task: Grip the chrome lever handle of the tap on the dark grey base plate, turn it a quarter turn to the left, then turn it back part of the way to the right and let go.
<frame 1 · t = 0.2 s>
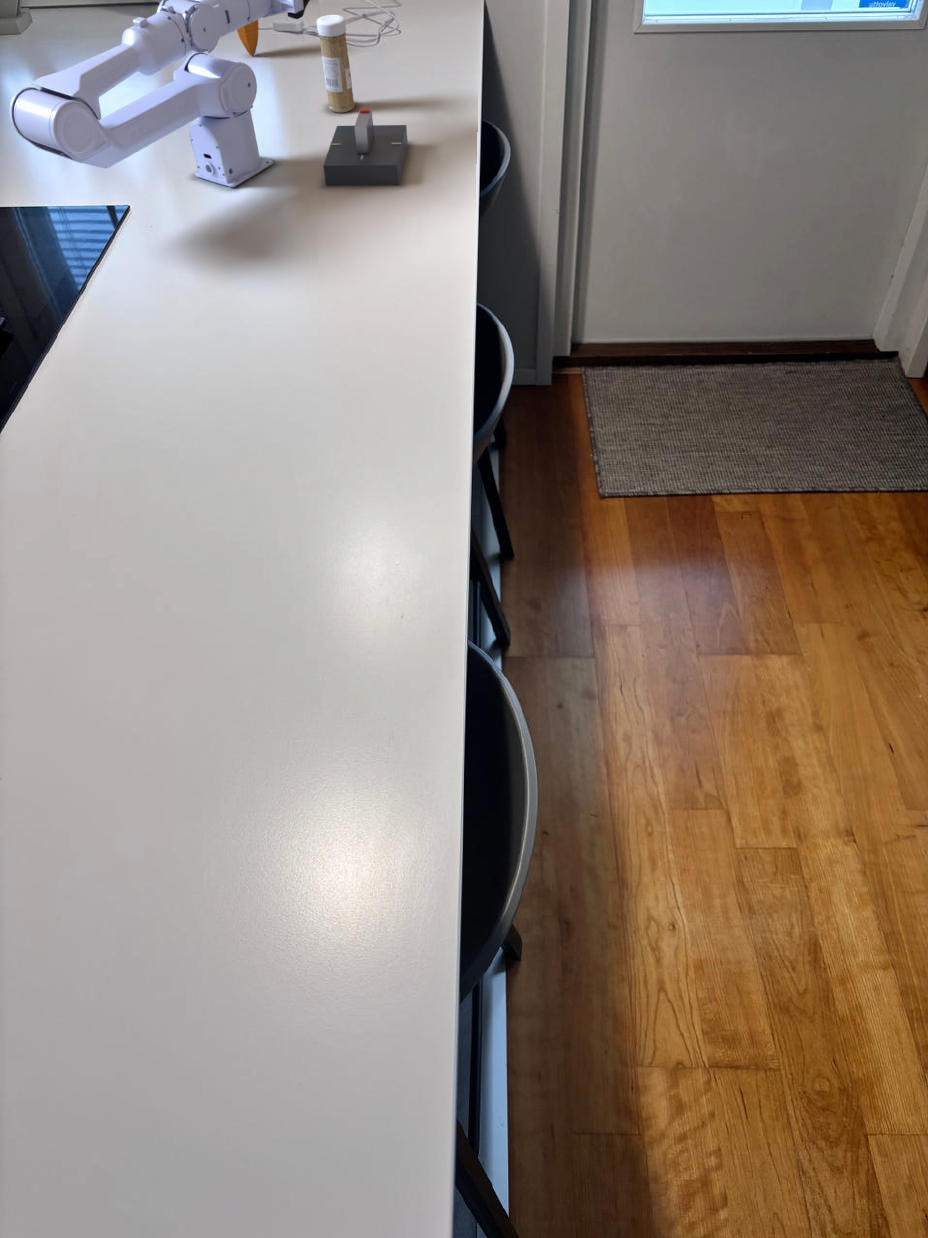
tap handle: (364, 130, 143), point 5 cm above the counter, hinge at 0.0°
sprinkles bottle: (341, 109, 161), on the counter
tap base: (368, 164, 147), on the counter
carrot: (252, 56, 178), on the counter
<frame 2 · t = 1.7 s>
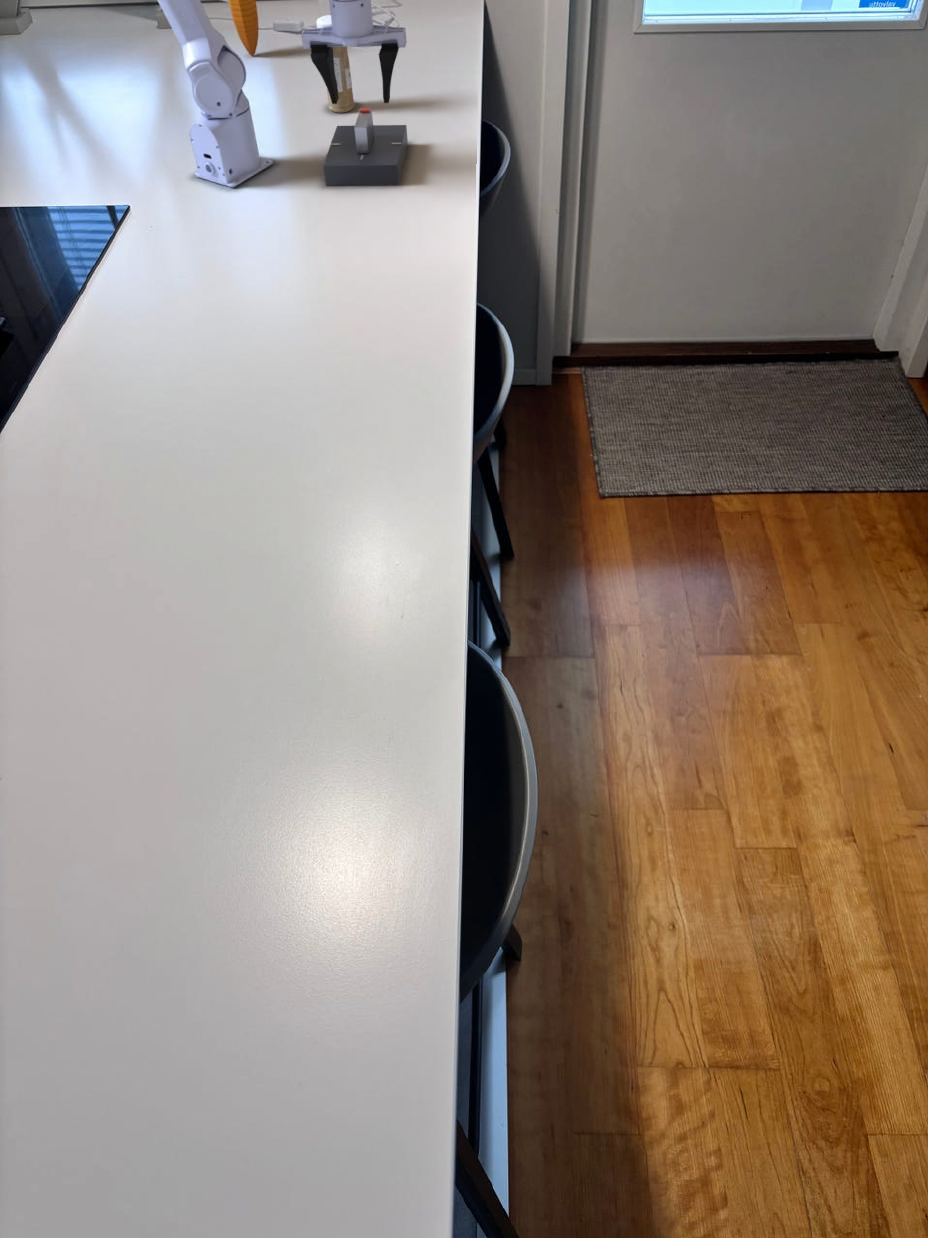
hand: (361, 100, 140), 9 cm above the counter, tool pointing down, fingers open, 7 cm apart
nothing on the counter moved.
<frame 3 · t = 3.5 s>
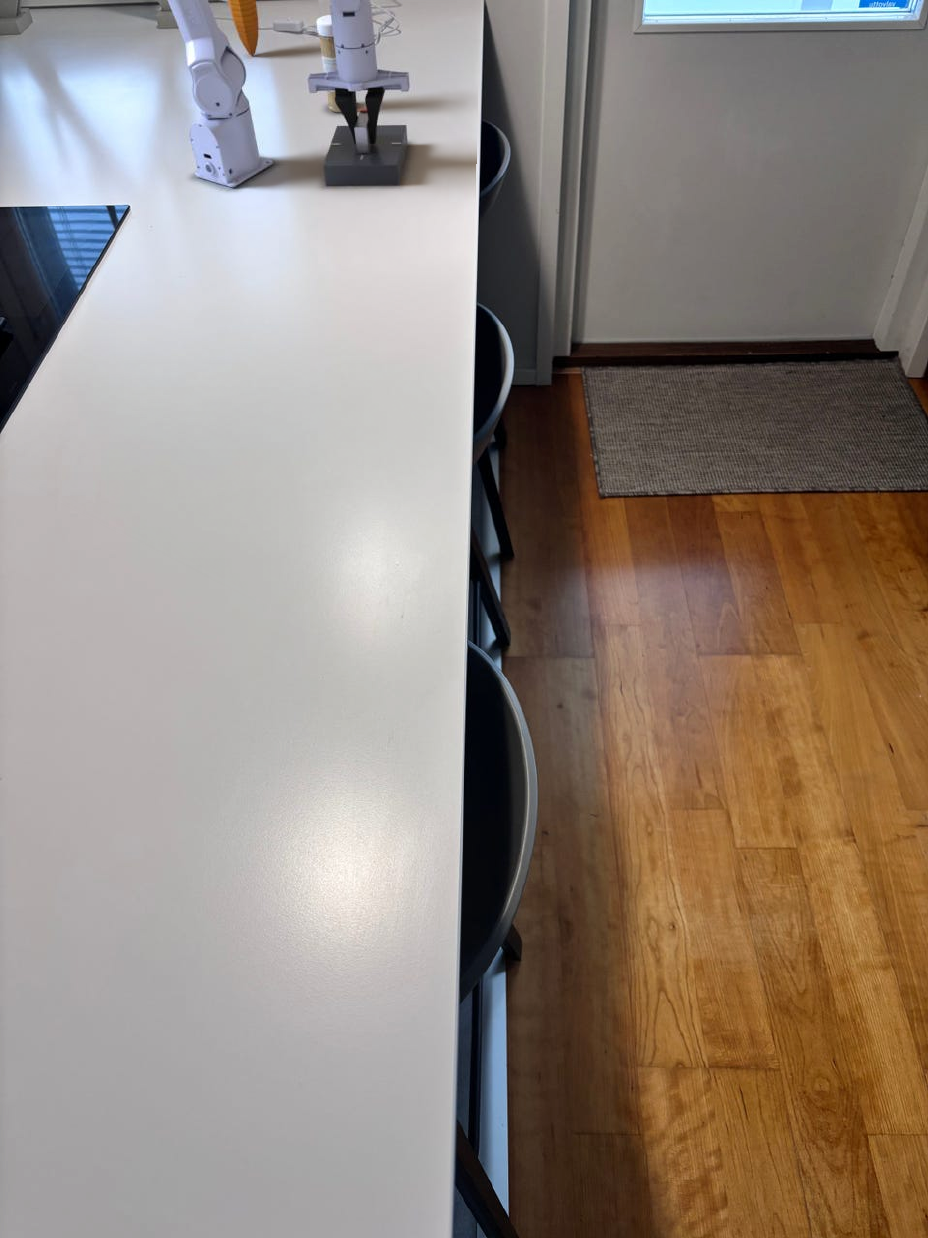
hand: (365, 140, 144), 4 cm above the counter, tool pointing down, fingers closed on tap handle, 2 cm apart
tap handle: (364, 130, 143), point 5 cm above the counter, hinge at 0.0°, touching gripper
everything else where it was.
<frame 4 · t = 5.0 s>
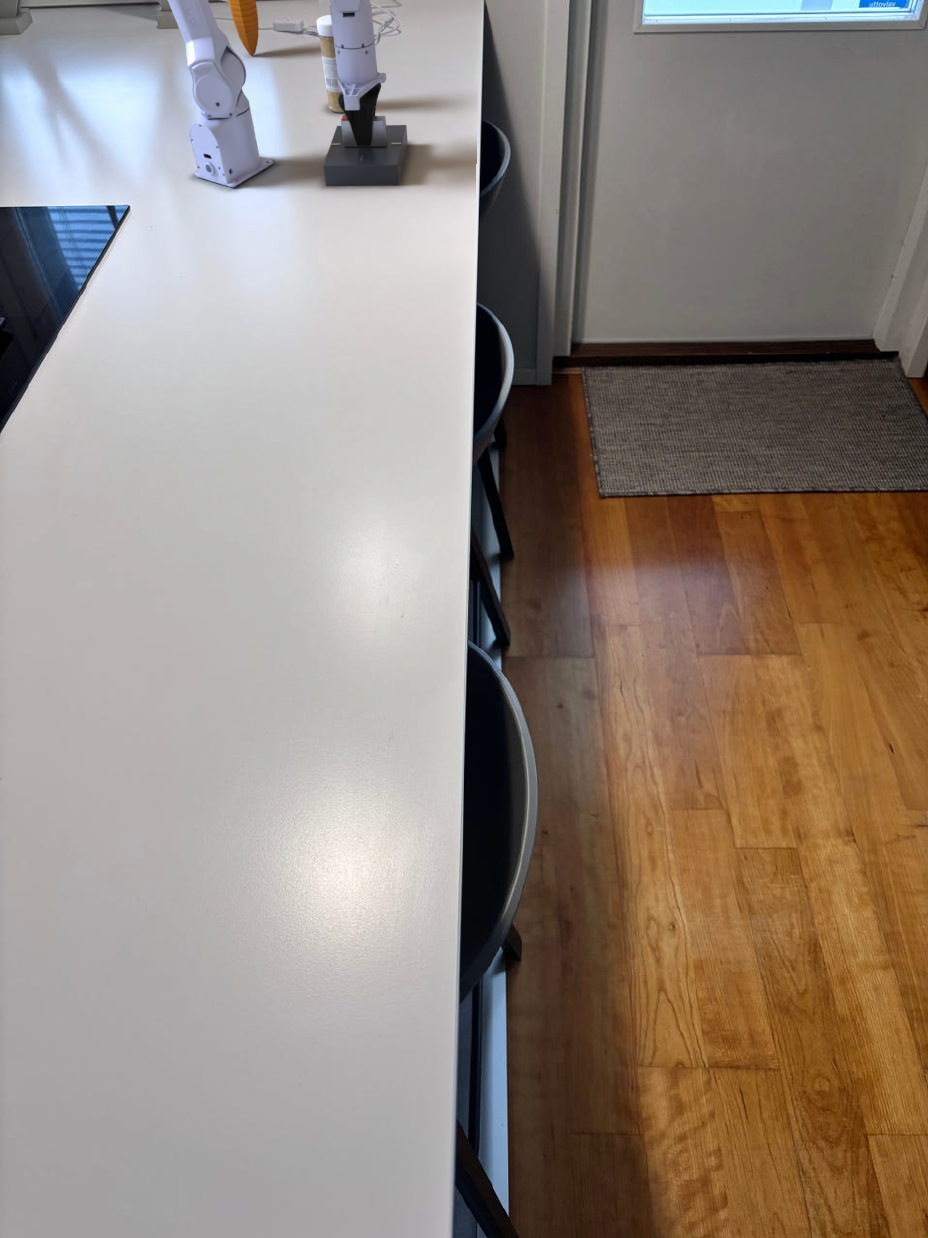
hand: (365, 141, 144), 3 cm above the counter, tool pointing down, fingers closed on tap handle, 2 cm apart
tap handle: (364, 130, 143), point 5 cm above the counter, hinge at 89.2°, touching gripper
everything else where it was.
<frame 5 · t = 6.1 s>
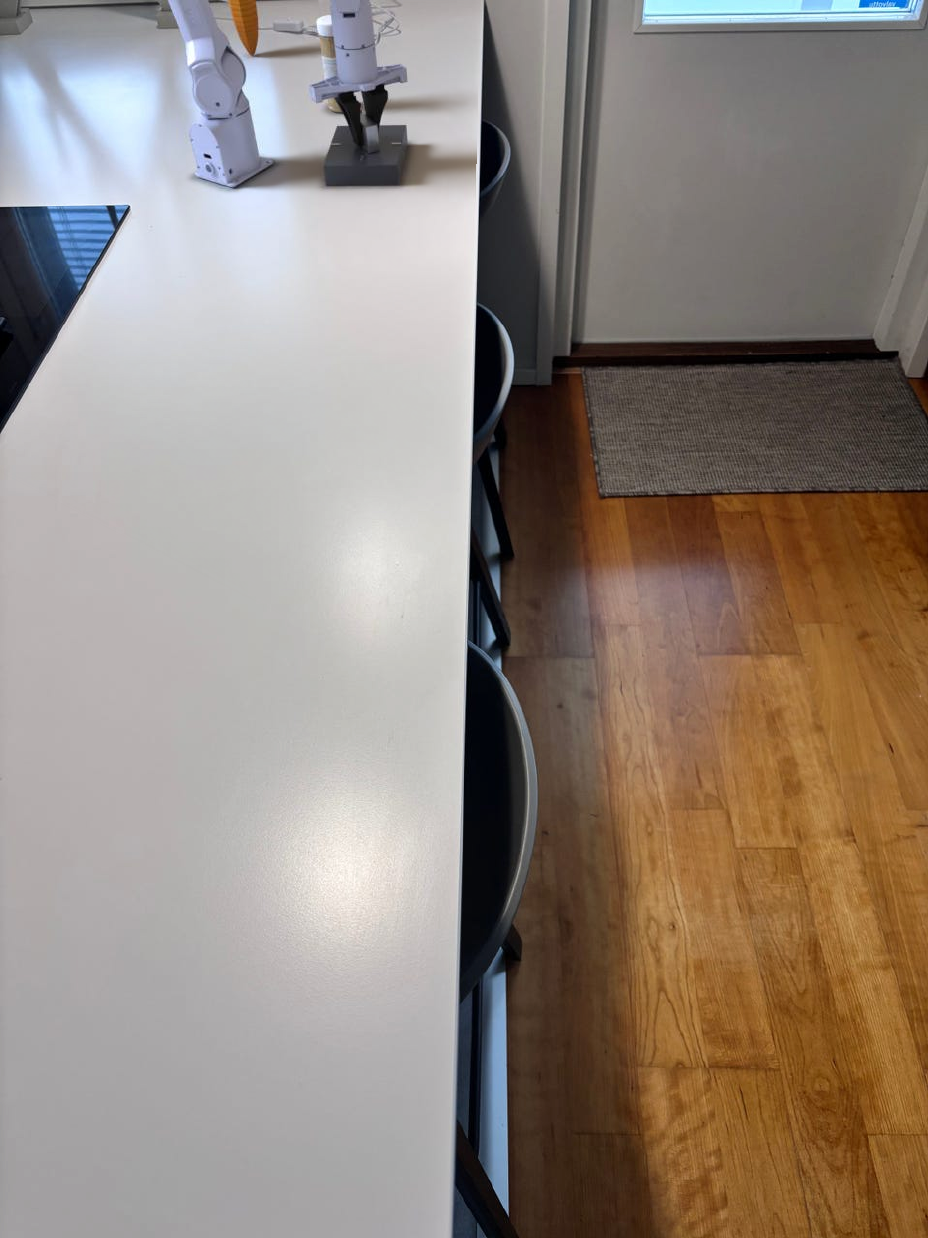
hand: (365, 141, 144), 3 cm above the counter, tool pointing down, fingers closed on tap handle, 2 cm apart
tap handle: (364, 130, 143), point 5 cm above the counter, hinge at 30.7°, touching gripper
everything else where it was.
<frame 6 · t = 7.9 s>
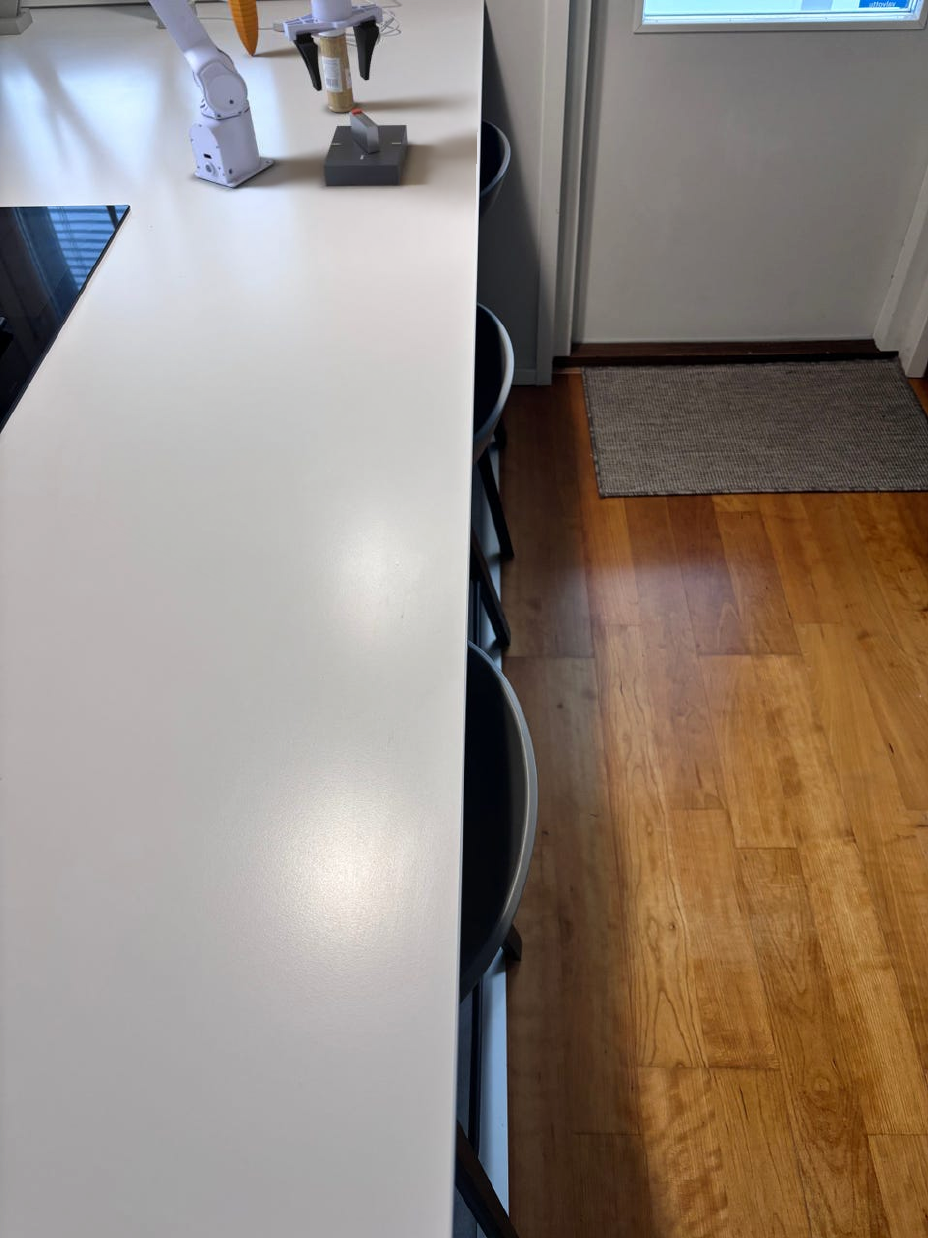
hand: (341, 83, 144), 9 cm above the counter, tool pointing down, fingers open, 7 cm apart
tap handle: (364, 130, 143), point 5 cm above the counter, hinge at 30.7°
everything else where it was.
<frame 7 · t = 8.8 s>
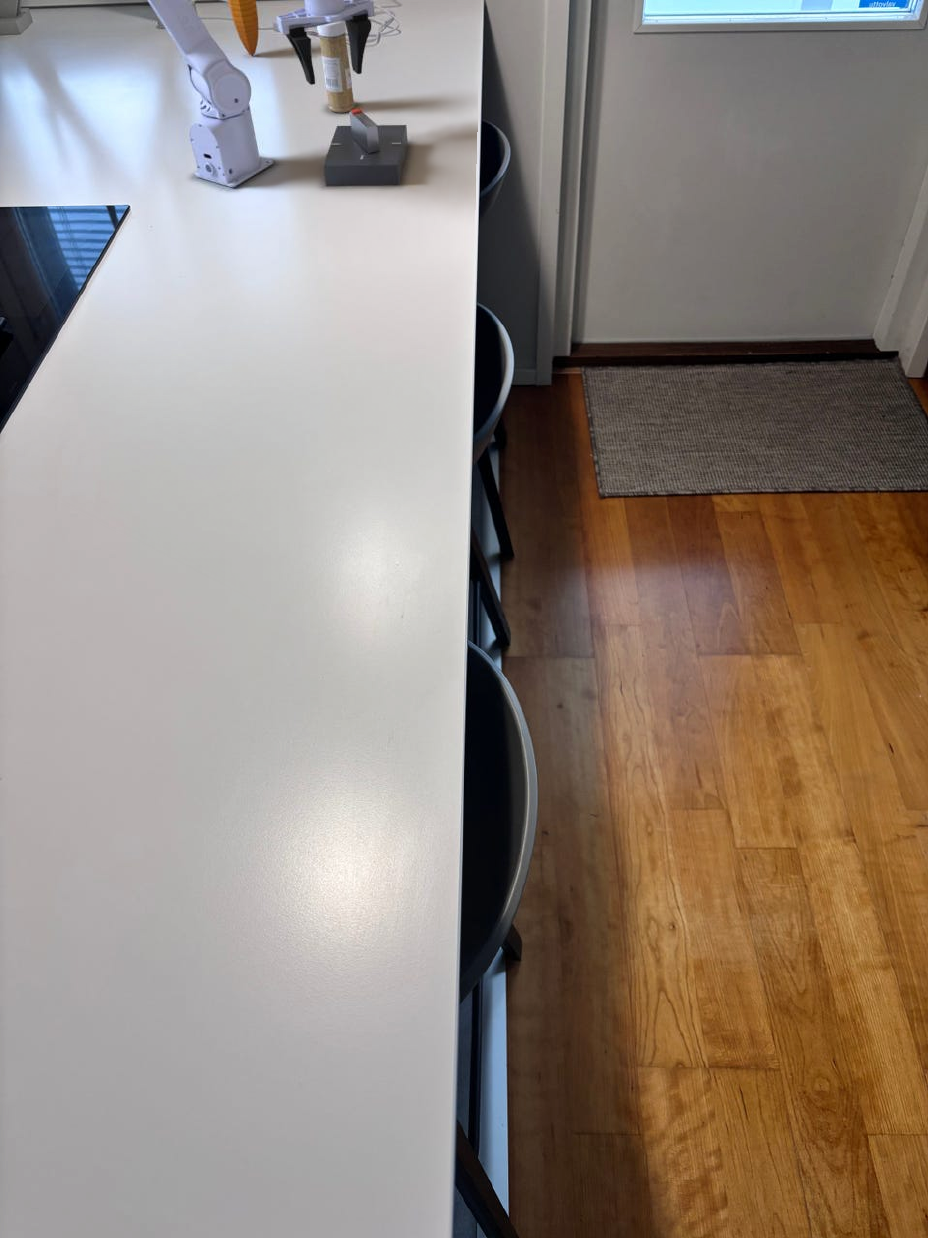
hand: (334, 76, 146), 9 cm above the counter, tool pointing down, fingers open, 7 cm apart
nothing on the counter moved.
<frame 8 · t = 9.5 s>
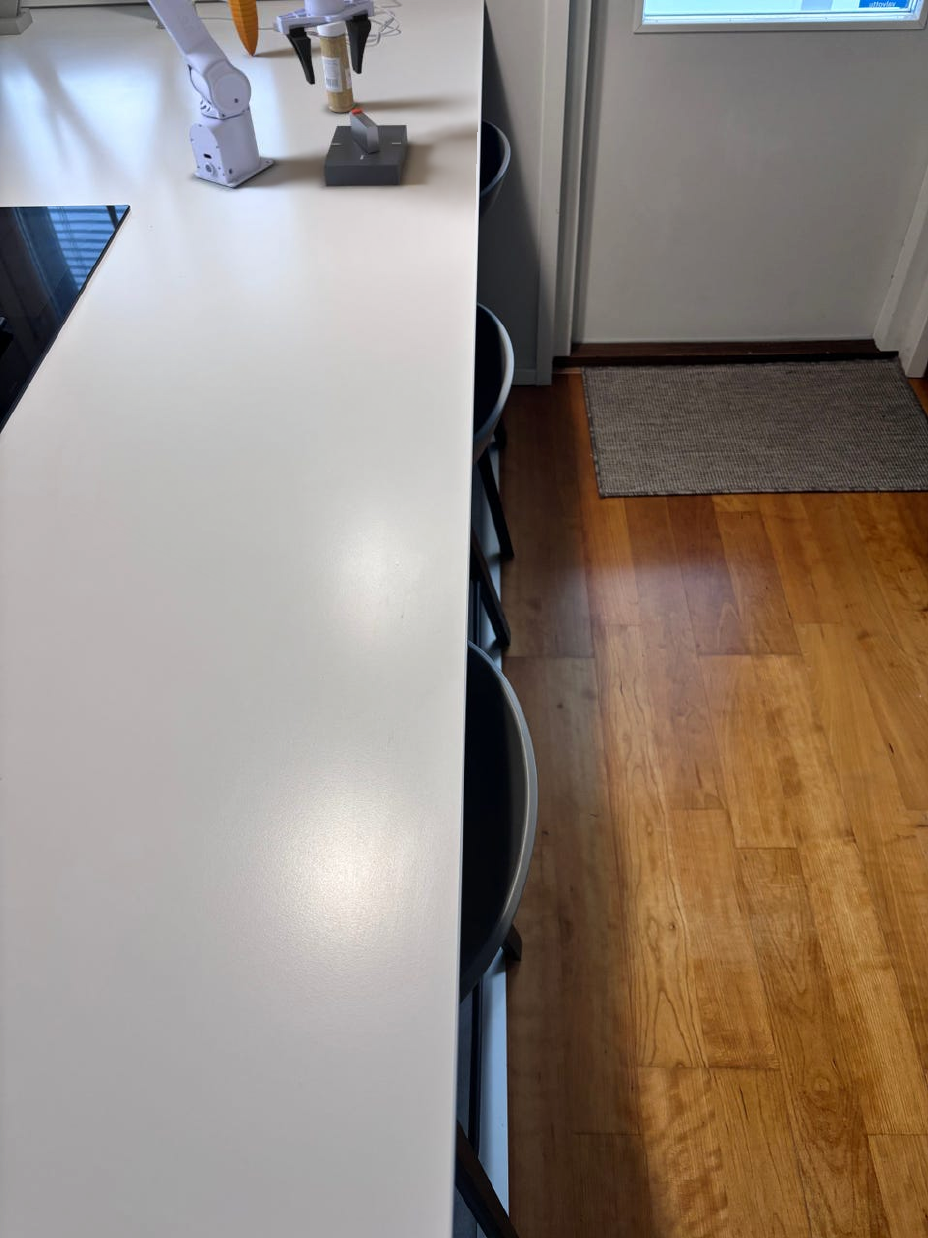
hand: (334, 76, 146), 9 cm above the counter, tool pointing down, fingers open, 7 cm apart
nothing on the counter moved.
at the end: tap handle reached +89° during the clip, +31° at the end; tap handle at +31° (first picture: +0°) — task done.
